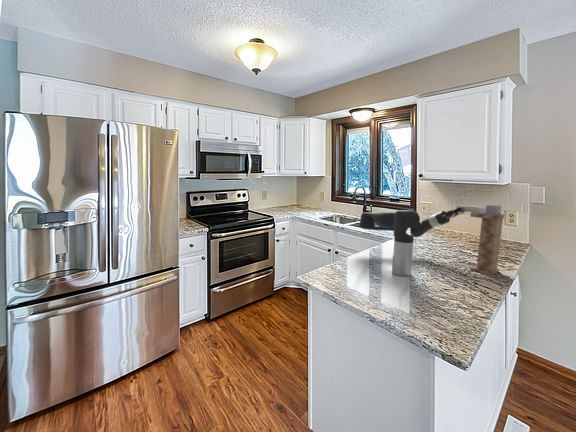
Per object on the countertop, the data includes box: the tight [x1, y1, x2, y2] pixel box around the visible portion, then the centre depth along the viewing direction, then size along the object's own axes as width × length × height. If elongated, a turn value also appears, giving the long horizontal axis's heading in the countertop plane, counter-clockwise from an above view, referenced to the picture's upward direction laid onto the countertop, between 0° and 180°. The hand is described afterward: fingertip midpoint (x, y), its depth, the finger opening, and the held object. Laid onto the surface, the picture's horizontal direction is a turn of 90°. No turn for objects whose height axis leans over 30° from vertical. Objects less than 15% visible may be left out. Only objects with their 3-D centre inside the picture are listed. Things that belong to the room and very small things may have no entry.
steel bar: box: [456, 204, 502, 215], centre depth 159 cm, size 20×5×4 cm, turn 36°
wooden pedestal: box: [469, 212, 505, 276], centre depth 158 cm, size 12×10×31 cm
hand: (465, 208), depth 164 cm, fingers open, 8 cm apart
